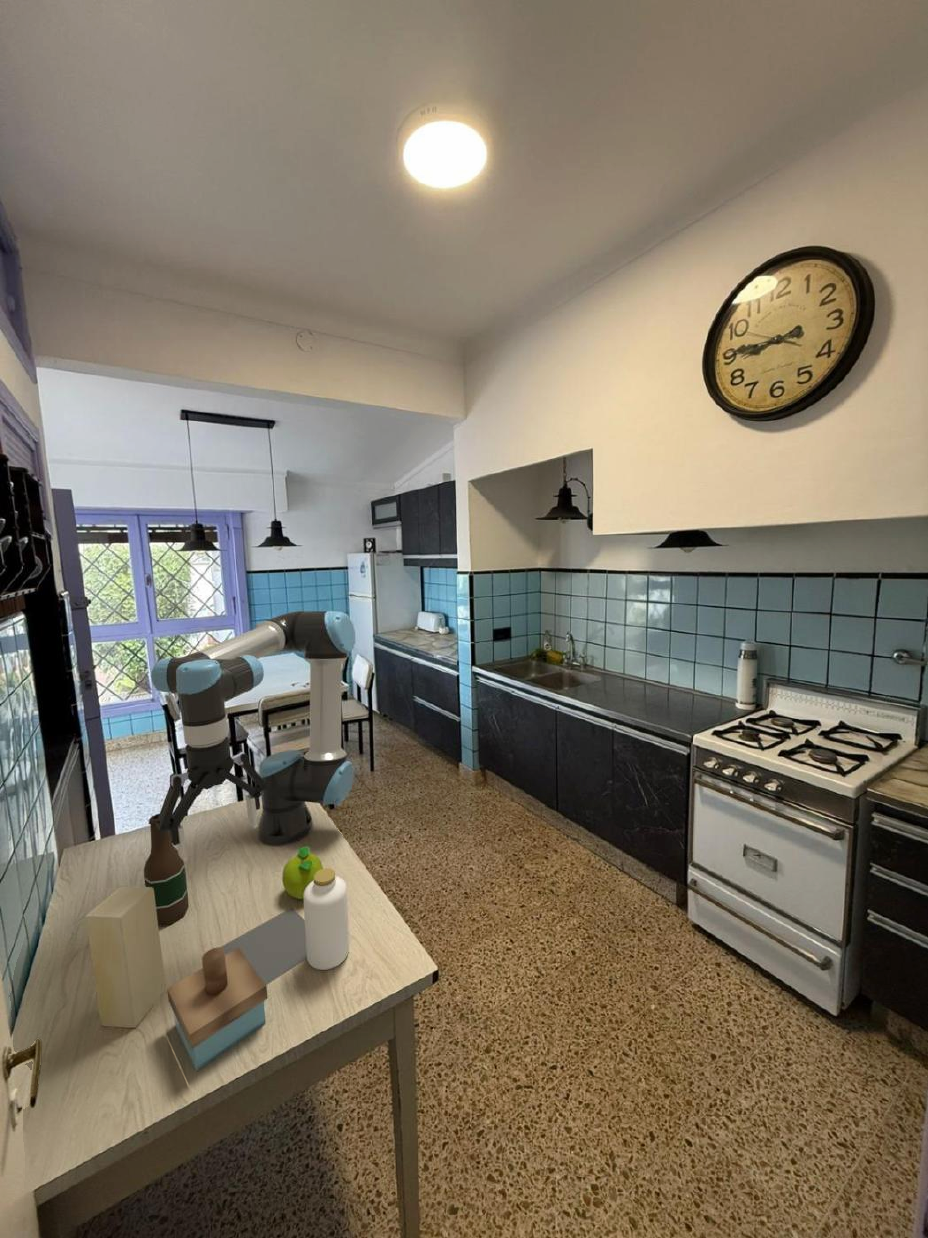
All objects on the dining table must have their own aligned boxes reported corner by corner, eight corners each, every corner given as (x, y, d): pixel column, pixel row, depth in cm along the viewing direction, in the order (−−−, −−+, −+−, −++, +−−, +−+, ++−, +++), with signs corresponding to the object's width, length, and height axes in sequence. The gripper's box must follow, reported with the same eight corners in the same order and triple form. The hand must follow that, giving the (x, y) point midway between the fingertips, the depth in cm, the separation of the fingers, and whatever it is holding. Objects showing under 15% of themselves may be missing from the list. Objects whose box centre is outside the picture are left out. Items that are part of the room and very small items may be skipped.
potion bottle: (357, 955, 100) (354, 875, 97) (320, 981, 94) (316, 896, 91) (335, 932, 106) (332, 855, 103) (299, 955, 100) (294, 875, 97)
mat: (292, 908, 114) (292, 907, 114) (328, 946, 103) (328, 944, 102) (218, 949, 102) (218, 948, 102) (250, 996, 91) (250, 994, 91)
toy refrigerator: (131, 986, 94) (117, 885, 91) (167, 989, 93) (154, 886, 90) (96, 1026, 86) (80, 916, 83) (135, 1029, 85) (120, 918, 83)
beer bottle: (171, 930, 108) (159, 827, 105) (141, 925, 110) (128, 824, 106) (197, 905, 116) (186, 808, 112) (168, 901, 117) (157, 806, 114)
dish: (240, 986, 93) (238, 963, 93) (265, 1024, 86) (263, 998, 85) (175, 1027, 86) (172, 1001, 85) (197, 1073, 78) (193, 1045, 77)
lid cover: (240, 959, 93) (235, 918, 92) (267, 998, 85) (263, 954, 84) (168, 1001, 85) (163, 957, 84) (191, 1049, 77) (185, 1000, 75)
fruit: (323, 877, 124) (320, 840, 123) (325, 902, 115) (322, 862, 114) (284, 886, 121) (281, 848, 120) (283, 912, 113) (279, 871, 111)
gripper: (261, 717, 107) (271, 807, 111) (126, 757, 89) (143, 863, 93) (277, 725, 102) (287, 820, 106) (138, 769, 84) (155, 881, 88)
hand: (220, 840), depth 99 cm, fingers open, 13 cm apart
